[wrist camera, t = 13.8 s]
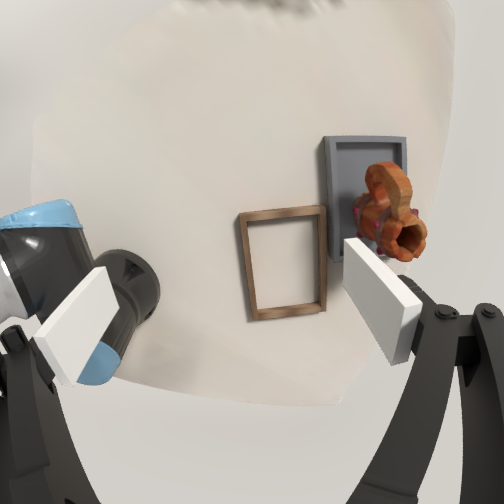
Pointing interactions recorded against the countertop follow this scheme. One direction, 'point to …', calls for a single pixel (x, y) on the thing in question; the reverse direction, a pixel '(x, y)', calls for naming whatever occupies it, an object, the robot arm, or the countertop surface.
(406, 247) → the mug
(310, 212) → the wooden picture frame
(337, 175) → the tray
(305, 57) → the countertop surface
